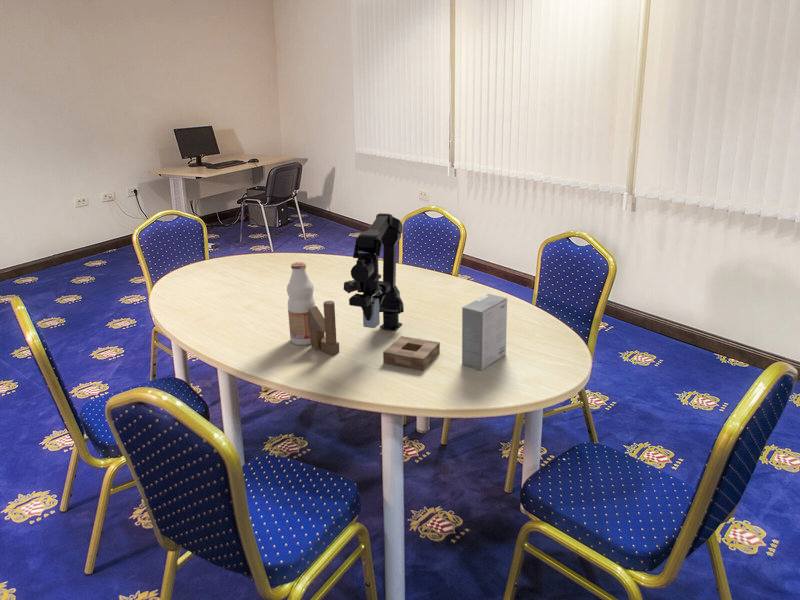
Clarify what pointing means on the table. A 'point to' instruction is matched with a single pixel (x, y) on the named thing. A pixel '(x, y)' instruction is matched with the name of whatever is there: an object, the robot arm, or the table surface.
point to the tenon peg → (373, 316)
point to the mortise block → (411, 353)
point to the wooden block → (323, 328)
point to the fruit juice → (300, 304)
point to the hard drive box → (484, 331)
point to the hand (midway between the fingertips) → (371, 318)
